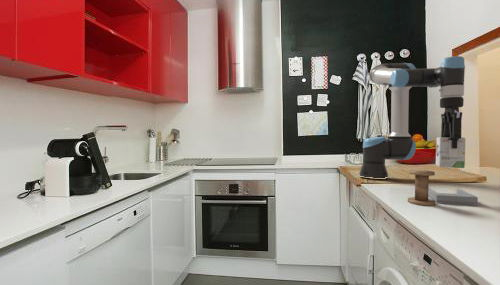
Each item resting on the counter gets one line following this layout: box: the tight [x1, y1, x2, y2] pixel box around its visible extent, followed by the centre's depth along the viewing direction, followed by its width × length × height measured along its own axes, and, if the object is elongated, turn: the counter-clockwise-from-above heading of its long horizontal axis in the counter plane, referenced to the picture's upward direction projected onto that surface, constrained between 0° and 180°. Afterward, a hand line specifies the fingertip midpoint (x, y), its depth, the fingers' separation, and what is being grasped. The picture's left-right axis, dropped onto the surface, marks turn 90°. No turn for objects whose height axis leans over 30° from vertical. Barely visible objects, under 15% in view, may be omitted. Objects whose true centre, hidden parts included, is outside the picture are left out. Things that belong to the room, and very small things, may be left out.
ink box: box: [435, 136, 466, 169], centre depth 110 cm, size 9×5×12 cm, turn 71°
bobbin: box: [407, 169, 437, 207], centre depth 106 cm, size 9×9×12 cm
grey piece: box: [428, 187, 479, 206], centre depth 110 cm, size 14×13×3 cm
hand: (449, 156), depth 110 cm, fingers closed on ink box, 5 cm apart
